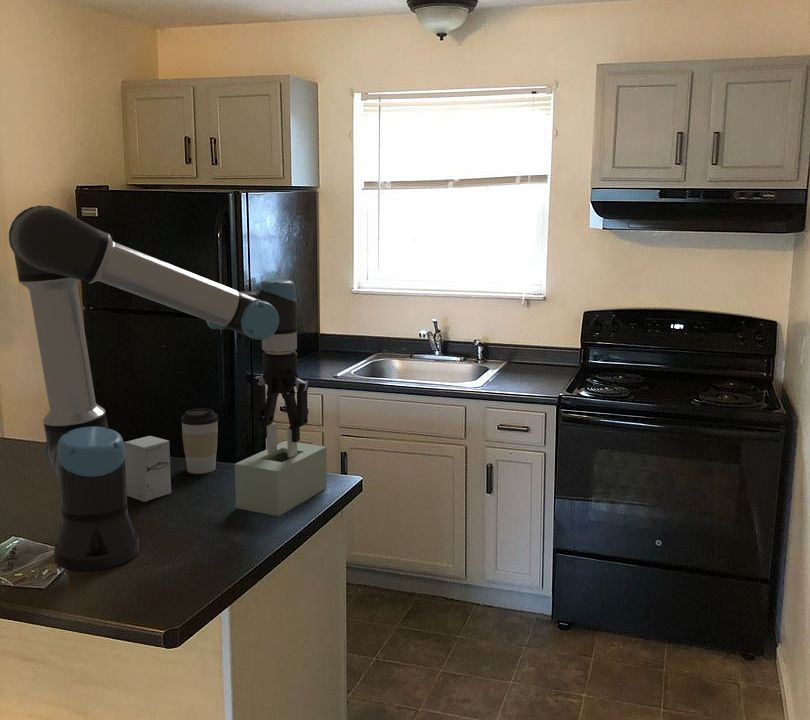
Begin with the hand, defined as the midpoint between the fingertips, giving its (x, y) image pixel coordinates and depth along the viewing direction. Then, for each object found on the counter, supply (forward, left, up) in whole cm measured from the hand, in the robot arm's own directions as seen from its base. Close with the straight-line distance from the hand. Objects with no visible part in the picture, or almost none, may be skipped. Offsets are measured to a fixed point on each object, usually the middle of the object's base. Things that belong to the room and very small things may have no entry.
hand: (282, 453), depth 196 cm
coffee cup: (+8, +29, -11) cm, 32 cm away
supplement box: (-12, +28, -11) cm, 32 cm away
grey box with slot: (0, 0, -10) cm, 10 cm away
